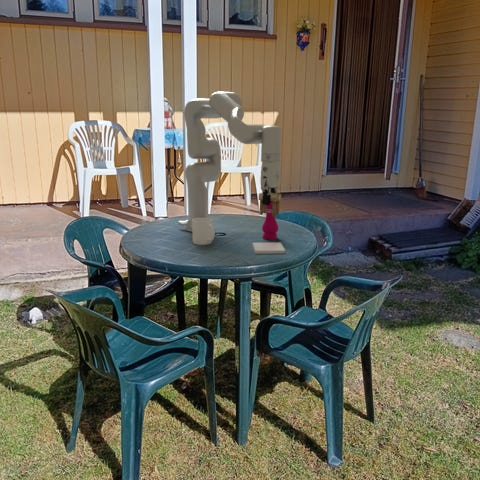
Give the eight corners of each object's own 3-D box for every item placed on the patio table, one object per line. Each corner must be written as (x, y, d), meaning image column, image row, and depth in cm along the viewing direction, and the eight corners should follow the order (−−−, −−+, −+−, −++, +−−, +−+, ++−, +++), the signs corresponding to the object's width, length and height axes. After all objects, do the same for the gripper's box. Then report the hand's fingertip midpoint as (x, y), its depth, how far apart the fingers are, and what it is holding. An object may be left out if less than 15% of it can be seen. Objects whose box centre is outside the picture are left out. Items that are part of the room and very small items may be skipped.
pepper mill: (276, 240, 216) (278, 195, 211) (260, 239, 218) (261, 194, 212) (278, 236, 223) (280, 192, 218) (263, 235, 224) (264, 192, 219)
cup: (203, 239, 218) (203, 216, 215) (221, 244, 209) (221, 221, 206) (188, 242, 212) (188, 219, 209) (206, 248, 204) (206, 224, 201)
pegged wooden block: (275, 216, 195) (275, 195, 193) (258, 214, 199) (258, 193, 196) (280, 214, 199) (280, 193, 197) (263, 212, 203) (264, 191, 201)
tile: (255, 253, 197) (255, 250, 196) (252, 245, 208) (252, 242, 208) (285, 253, 198) (285, 250, 197) (280, 245, 209) (280, 242, 209)
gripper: (270, 160, 184) (269, 208, 189) (287, 156, 199) (286, 201, 204) (252, 159, 188) (251, 206, 192) (271, 155, 202) (269, 199, 207)
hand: (269, 203), depth 198 cm, fingers closed on pegged wooden block, 5 cm apart
